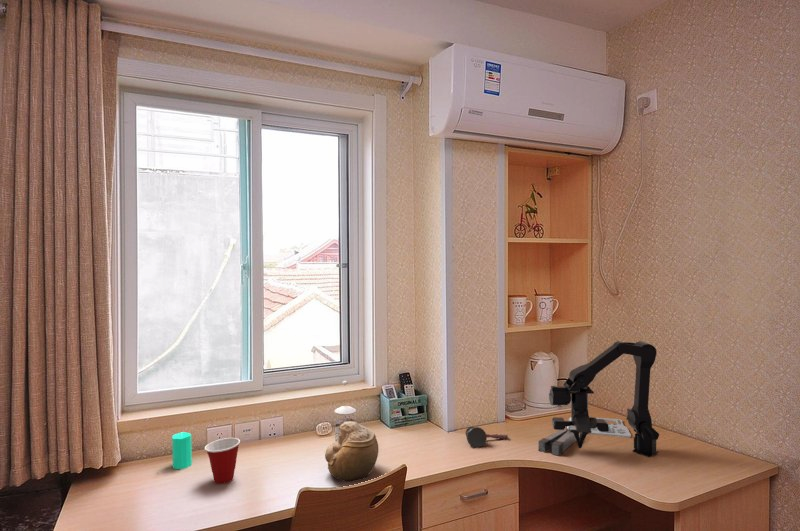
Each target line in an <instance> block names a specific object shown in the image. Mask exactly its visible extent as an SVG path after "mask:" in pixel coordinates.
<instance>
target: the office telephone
mask: <svg viewBox="0 0 800 531" xmlns="http://www.w3.org/2000/svg"><path fill="white" fill-rule="evenodd" d="M593 418H596V419H604V420H605V421H606V422H607V424H608V426H609V431H608V432H603V431H599V430H598V429H597V428H594V429H591V431H592V432H591V433H588V434H587V435H597V436H608V437H618V438H628V439H629V438H630V439H632V434H631V433H630V431H629V428H628V427H627V426H625V425H624V423H623V420H622V419H620V418H619V419H618V418H607V417H606V418H604V417H593ZM568 421H571V416H570V417H569V418H568ZM608 422H614V423H608ZM579 434H580V432H579Z"/></svg>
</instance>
